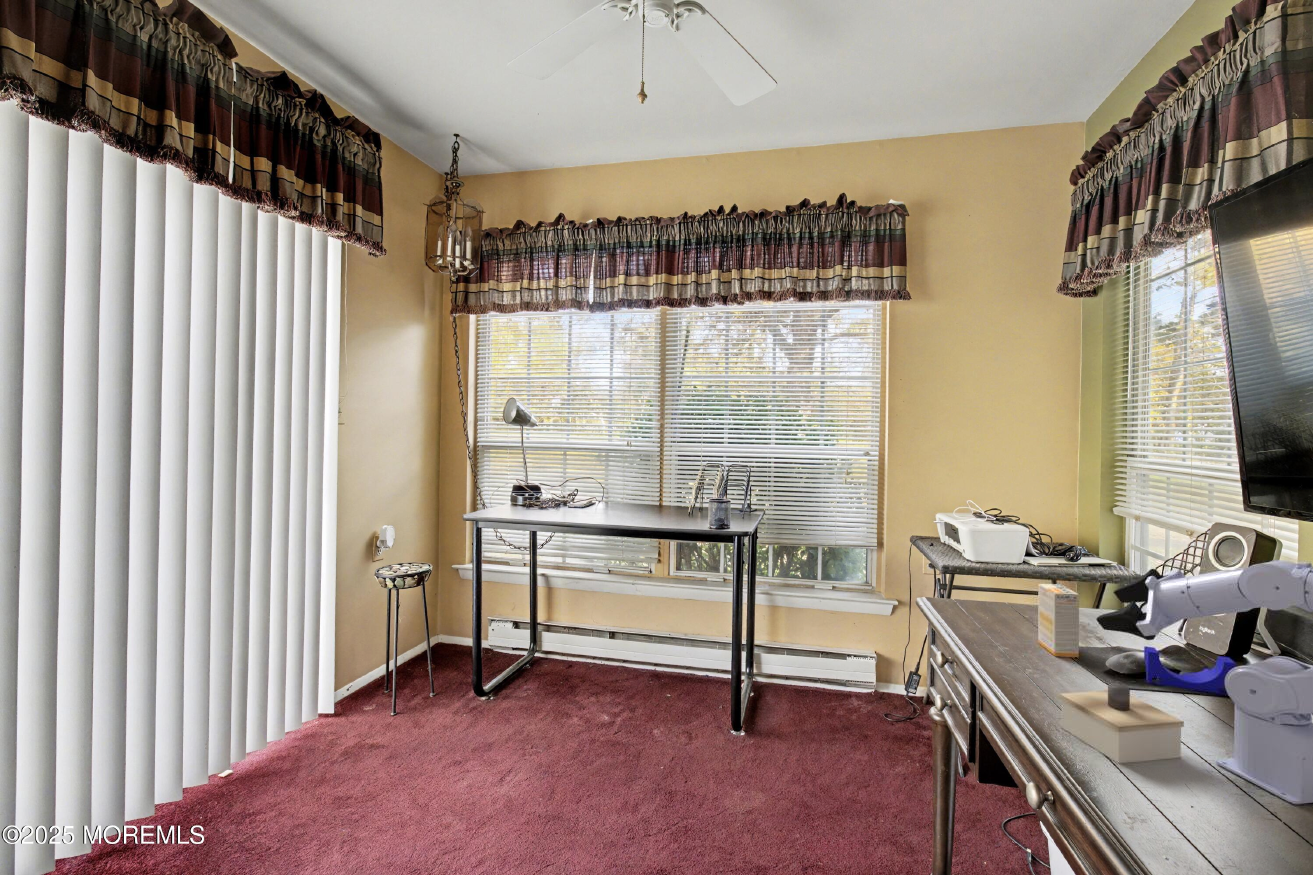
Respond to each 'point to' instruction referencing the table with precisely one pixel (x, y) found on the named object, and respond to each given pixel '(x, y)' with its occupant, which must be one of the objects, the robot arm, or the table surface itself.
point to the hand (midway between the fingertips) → (1109, 609)
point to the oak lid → (1121, 709)
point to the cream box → (1122, 738)
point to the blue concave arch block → (1188, 674)
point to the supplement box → (1058, 620)
